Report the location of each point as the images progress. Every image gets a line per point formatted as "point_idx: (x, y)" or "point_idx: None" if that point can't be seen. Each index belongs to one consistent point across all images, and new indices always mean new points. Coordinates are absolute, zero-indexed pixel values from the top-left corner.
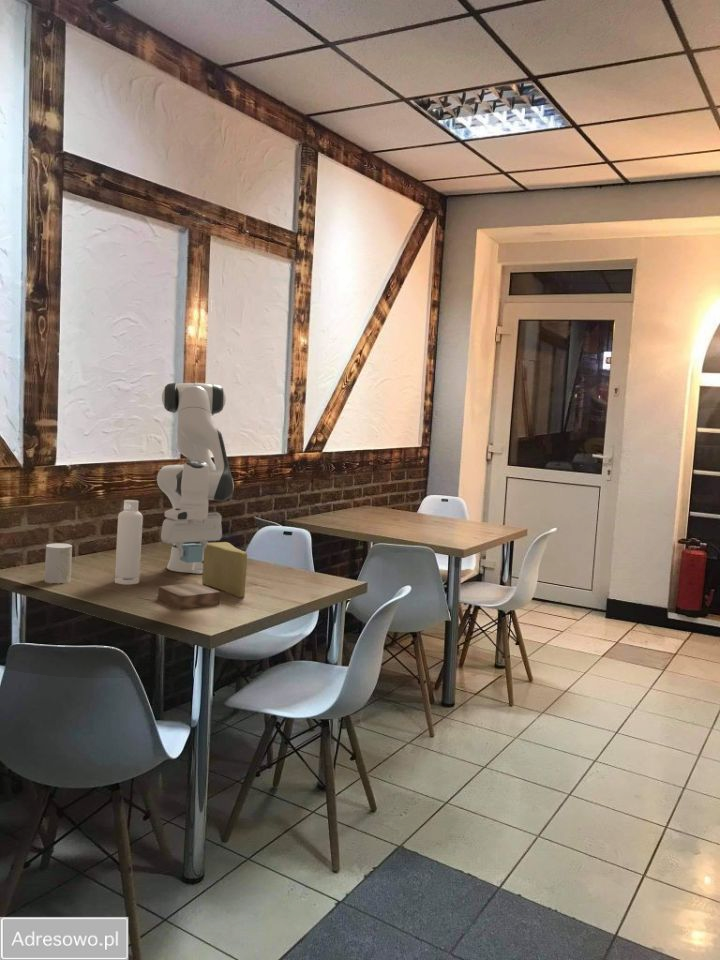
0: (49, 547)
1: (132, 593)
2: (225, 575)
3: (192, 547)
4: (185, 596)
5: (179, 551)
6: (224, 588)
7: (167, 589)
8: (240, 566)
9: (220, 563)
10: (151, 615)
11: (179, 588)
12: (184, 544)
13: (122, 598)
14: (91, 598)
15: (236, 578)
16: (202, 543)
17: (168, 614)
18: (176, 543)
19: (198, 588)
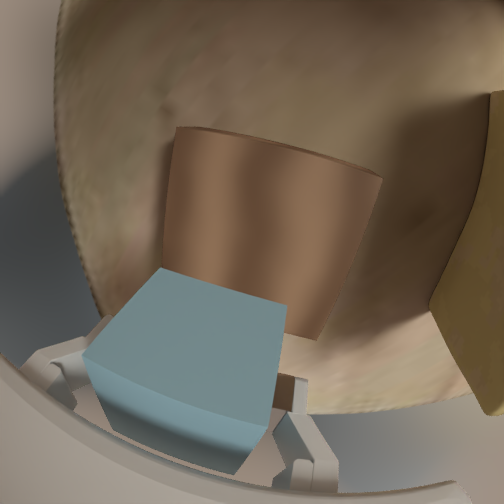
0: None
1: (181, 22)
2: (493, 249)
3: (142, 439)
4: None
5: (90, 340)
6: (470, 224)
7: (175, 191)
8: (469, 371)
9: None
10: (97, 260)
11: (228, 209)
12: (113, 385)
13: (119, 67)
14: (73, 43)
15: (458, 321)
16: (279, 477)
17: (130, 281)
18: (29, 365)
19: (296, 262)
